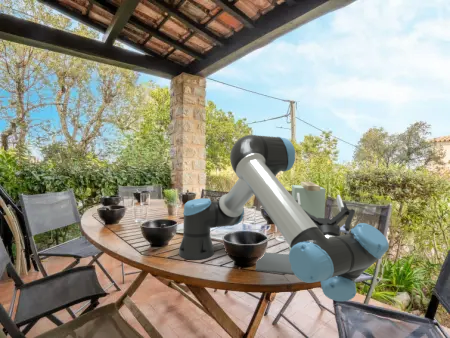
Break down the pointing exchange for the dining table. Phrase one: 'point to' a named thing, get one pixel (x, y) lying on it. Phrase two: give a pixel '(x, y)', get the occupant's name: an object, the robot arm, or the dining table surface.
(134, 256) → the dining table surface
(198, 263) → the dining table surface
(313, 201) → the stand
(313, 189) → the block
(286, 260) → the mat
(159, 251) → the dining table surface
